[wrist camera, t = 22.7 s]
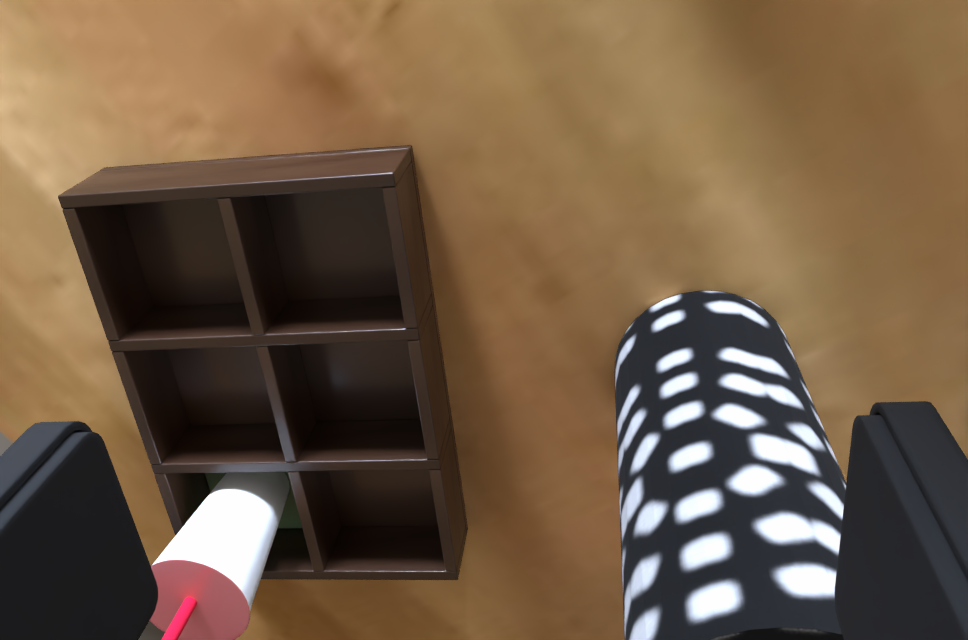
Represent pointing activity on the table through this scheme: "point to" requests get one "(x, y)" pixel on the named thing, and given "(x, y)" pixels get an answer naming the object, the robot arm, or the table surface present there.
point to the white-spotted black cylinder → (722, 479)
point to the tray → (284, 348)
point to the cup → (219, 558)
